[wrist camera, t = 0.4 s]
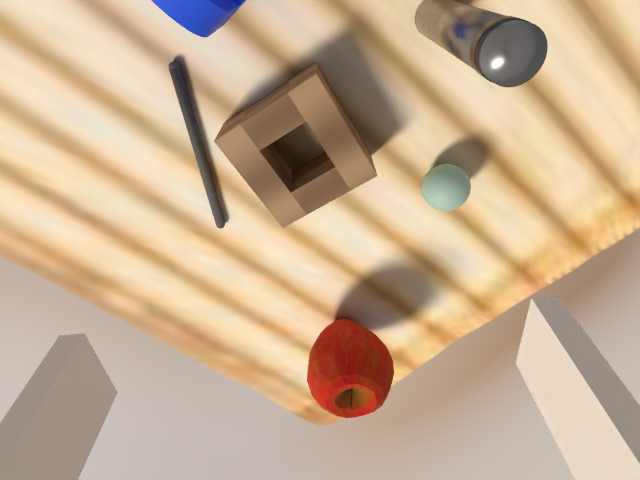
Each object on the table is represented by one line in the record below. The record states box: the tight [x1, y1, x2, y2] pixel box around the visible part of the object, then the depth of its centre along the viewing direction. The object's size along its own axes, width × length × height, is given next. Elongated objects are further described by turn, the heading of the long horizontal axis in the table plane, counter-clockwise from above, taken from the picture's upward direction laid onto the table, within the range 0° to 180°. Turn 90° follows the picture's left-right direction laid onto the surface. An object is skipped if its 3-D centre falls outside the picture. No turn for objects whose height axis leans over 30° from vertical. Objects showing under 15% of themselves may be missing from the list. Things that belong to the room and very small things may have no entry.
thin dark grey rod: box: [169, 62, 225, 228], centre depth 36 cm, size 15×1×1 cm, turn 7°
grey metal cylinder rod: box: [415, 0, 547, 87], centre depth 24 cm, size 3×3×15 cm
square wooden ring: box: [214, 62, 377, 228], centre depth 34 cm, size 9×9×4 cm
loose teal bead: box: [422, 164, 471, 211], centre depth 36 cm, size 4×4×4 cm
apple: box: [307, 318, 394, 418], centre depth 43 cm, size 9×8×11 cm
